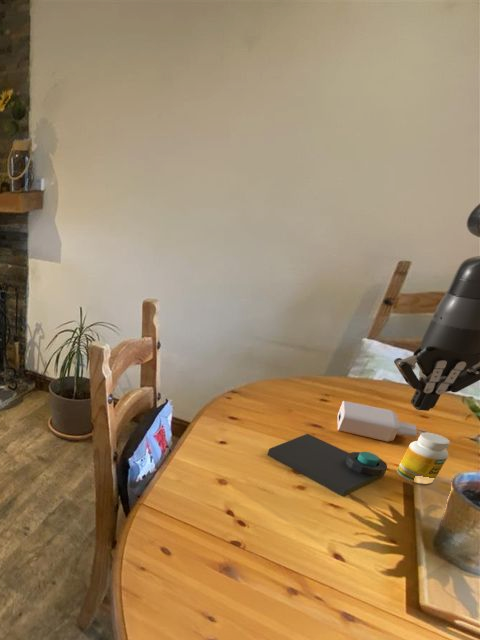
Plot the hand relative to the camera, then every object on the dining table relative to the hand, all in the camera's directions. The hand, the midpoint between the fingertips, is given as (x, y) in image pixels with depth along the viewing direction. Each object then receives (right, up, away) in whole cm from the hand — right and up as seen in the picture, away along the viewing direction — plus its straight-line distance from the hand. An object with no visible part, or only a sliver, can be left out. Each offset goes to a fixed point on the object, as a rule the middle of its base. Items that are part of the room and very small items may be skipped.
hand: (420, 408), depth 78 cm
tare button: (-4, -11, +6) cm, 14 cm away
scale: (-9, -13, +11) cm, 19 cm away
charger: (+12, -7, +20) cm, 24 cm away
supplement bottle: (+5, -15, +6) cm, 17 cm away
